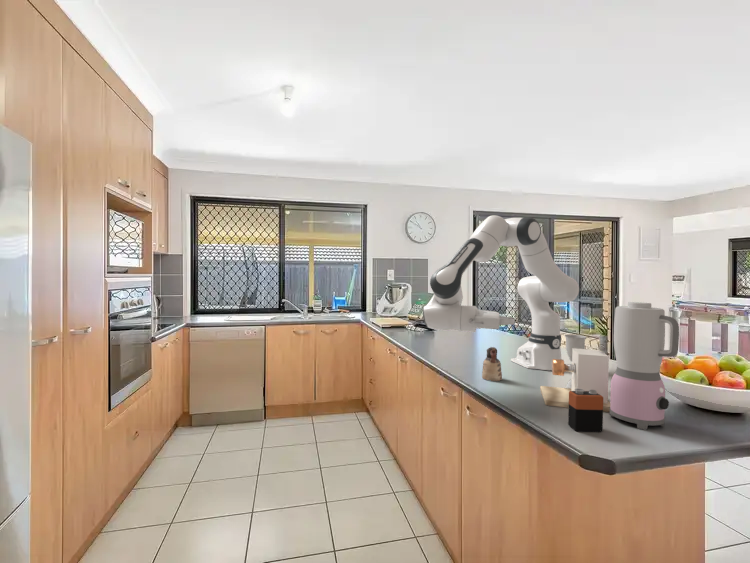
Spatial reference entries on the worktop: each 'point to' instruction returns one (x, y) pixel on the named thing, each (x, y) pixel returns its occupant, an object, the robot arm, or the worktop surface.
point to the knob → (561, 367)
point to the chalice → (574, 342)
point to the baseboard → (561, 397)
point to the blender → (641, 363)
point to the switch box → (590, 371)
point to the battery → (585, 411)
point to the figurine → (492, 366)
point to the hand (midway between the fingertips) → (514, 321)
